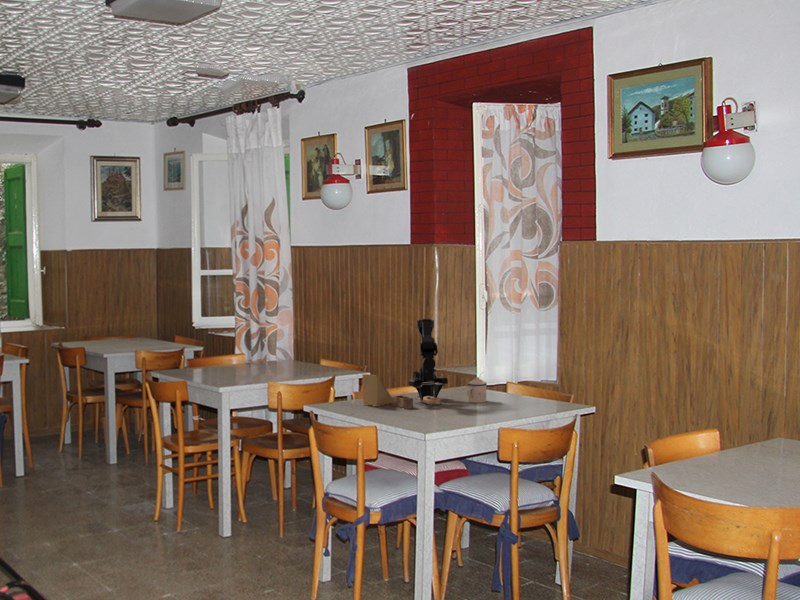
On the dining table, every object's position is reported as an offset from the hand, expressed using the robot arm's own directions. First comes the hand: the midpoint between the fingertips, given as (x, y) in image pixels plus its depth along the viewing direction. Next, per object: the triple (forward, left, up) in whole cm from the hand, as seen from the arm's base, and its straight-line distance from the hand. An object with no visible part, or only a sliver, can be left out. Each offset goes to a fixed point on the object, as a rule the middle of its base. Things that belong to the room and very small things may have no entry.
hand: (428, 399), depth 430 cm
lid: (0, 0, 0) cm, 1 cm away
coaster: (0, 0, -2) cm, 2 cm away
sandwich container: (+19, -14, -2) cm, 23 cm away
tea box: (+14, 0, -2) cm, 14 cm away
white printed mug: (-22, +7, -2) cm, 23 cm away
